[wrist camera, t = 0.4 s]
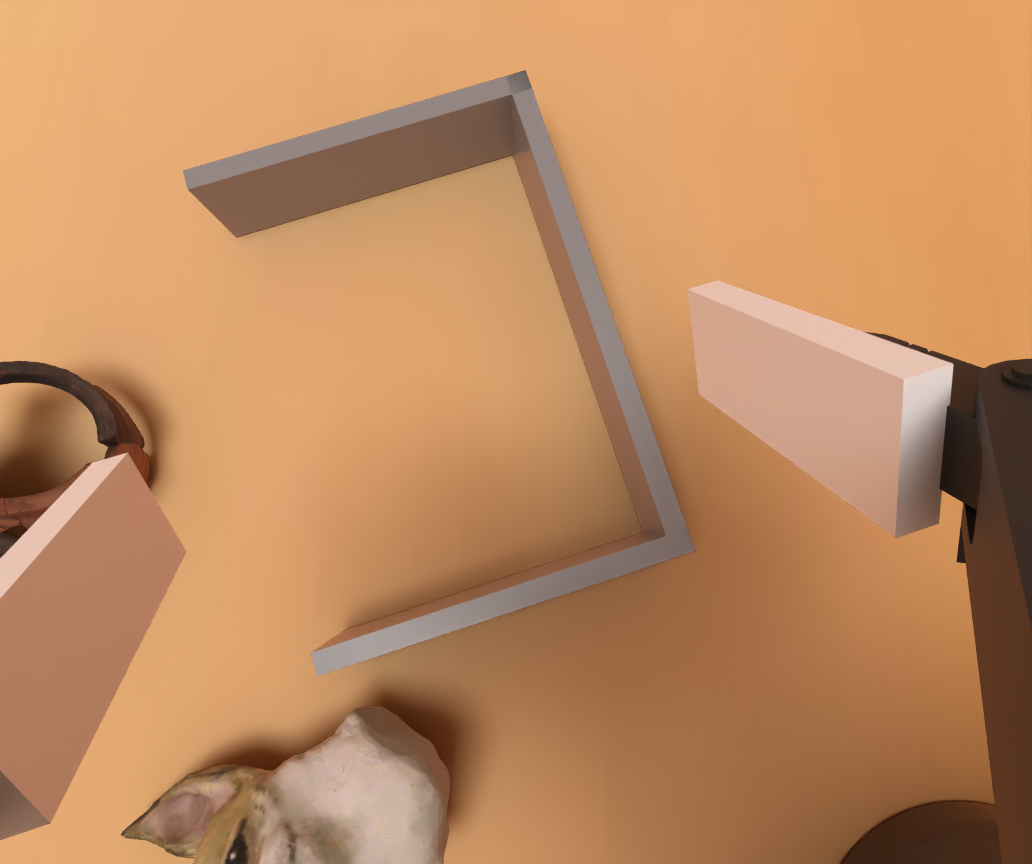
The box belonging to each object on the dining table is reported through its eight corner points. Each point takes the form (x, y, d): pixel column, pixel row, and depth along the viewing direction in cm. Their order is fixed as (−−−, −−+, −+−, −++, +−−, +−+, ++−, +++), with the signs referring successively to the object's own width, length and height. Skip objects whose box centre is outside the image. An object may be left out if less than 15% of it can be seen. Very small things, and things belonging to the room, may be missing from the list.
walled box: (667, 545, 31) (695, 551, 26) (349, 650, 31) (317, 676, 26) (524, 134, 34) (525, 70, 29) (231, 220, 34) (183, 170, 29)
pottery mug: (-38, 410, 33) (-99, 329, 26) (163, 424, 37) (156, 358, 30) (-101, 644, 28) (-193, 620, 22) (137, 631, 32) (122, 607, 26)
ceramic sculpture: (508, 952, 21) (138, 1193, 21) (520, 819, 30) (259, 990, 29) (351, 678, 22) (2, 904, 22) (407, 627, 31) (156, 790, 31)
